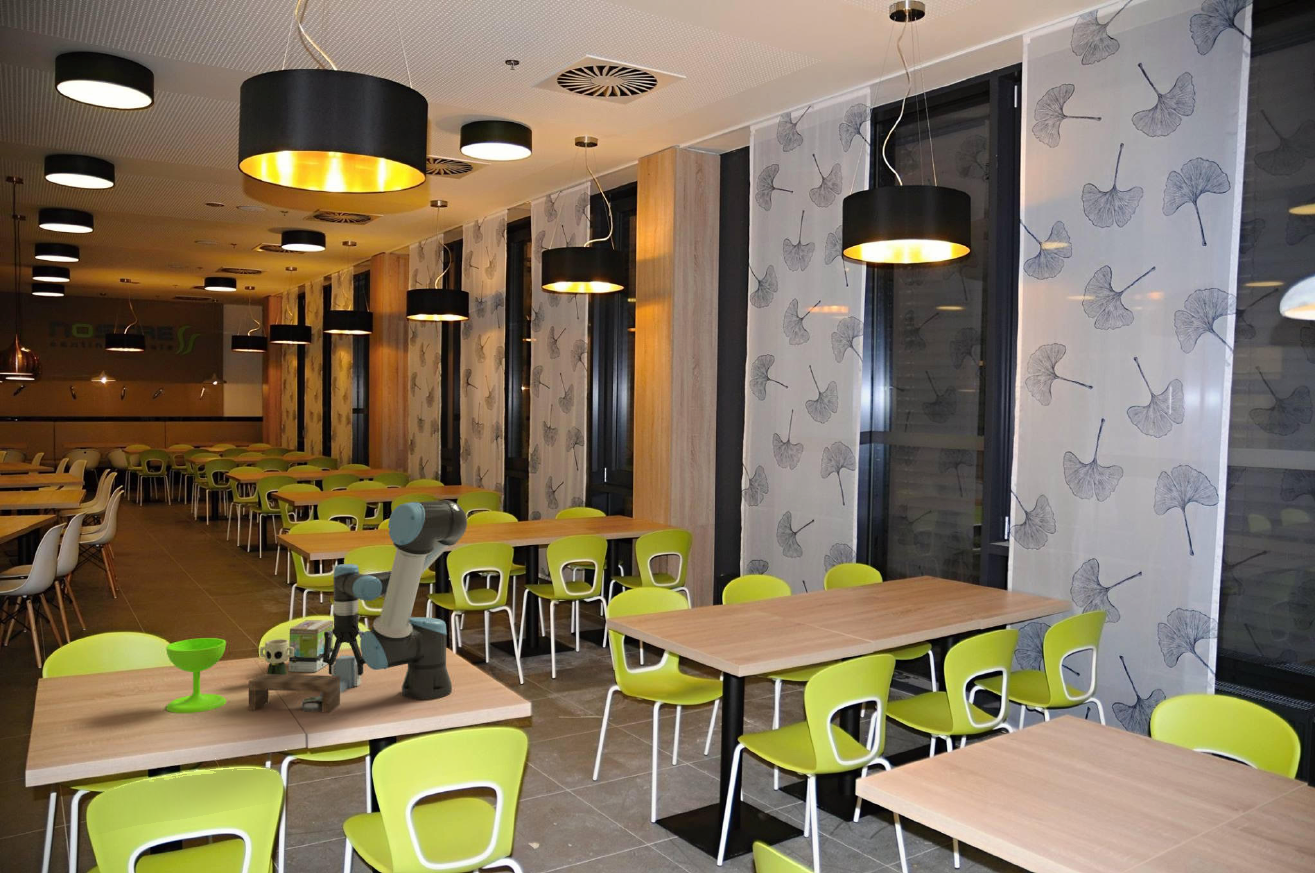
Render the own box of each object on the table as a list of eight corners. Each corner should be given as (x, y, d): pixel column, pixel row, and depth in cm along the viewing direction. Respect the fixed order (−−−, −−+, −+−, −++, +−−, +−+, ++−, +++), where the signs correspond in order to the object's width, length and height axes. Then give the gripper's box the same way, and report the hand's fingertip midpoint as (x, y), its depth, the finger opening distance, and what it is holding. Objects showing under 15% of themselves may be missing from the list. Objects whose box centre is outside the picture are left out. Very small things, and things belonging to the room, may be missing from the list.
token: (330, 704, 281) (330, 696, 281) (321, 712, 274) (321, 703, 274) (307, 704, 282) (307, 696, 282) (298, 712, 275) (298, 703, 275)
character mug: (255, 684, 302) (255, 643, 302) (264, 678, 309) (264, 638, 309) (289, 684, 302) (289, 644, 302) (297, 678, 309) (297, 638, 309)
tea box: (317, 672, 317) (317, 628, 316) (287, 672, 317) (287, 628, 317) (333, 661, 332) (333, 619, 332) (305, 660, 332) (305, 618, 332)
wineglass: (157, 705, 280) (157, 644, 280) (212, 693, 292) (212, 635, 291) (179, 716, 269) (179, 653, 269) (235, 704, 281) (235, 644, 281)
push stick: (341, 683, 304) (341, 655, 304) (356, 683, 304) (356, 655, 304) (317, 700, 286) (317, 670, 286) (333, 700, 285) (333, 670, 285)
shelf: (339, 704, 282) (339, 675, 281) (328, 712, 274) (328, 683, 273) (261, 702, 283) (261, 673, 283) (248, 710, 275) (248, 681, 275)
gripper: (380, 611, 304) (380, 682, 305) (320, 610, 306) (320, 680, 306) (372, 616, 297) (372, 688, 297) (310, 614, 298) (310, 687, 298)
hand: (346, 684), depth 302 cm, fingers open, 7 cm apart
